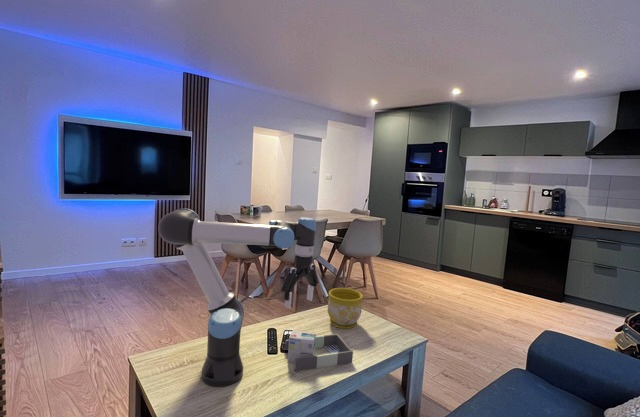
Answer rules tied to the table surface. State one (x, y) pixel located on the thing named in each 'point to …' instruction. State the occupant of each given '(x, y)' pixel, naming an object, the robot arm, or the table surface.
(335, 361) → the trap channel
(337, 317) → the flowerpot
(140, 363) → the table surface
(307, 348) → the light bulb box
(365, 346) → the table surface
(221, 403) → the table surface
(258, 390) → the table surface
